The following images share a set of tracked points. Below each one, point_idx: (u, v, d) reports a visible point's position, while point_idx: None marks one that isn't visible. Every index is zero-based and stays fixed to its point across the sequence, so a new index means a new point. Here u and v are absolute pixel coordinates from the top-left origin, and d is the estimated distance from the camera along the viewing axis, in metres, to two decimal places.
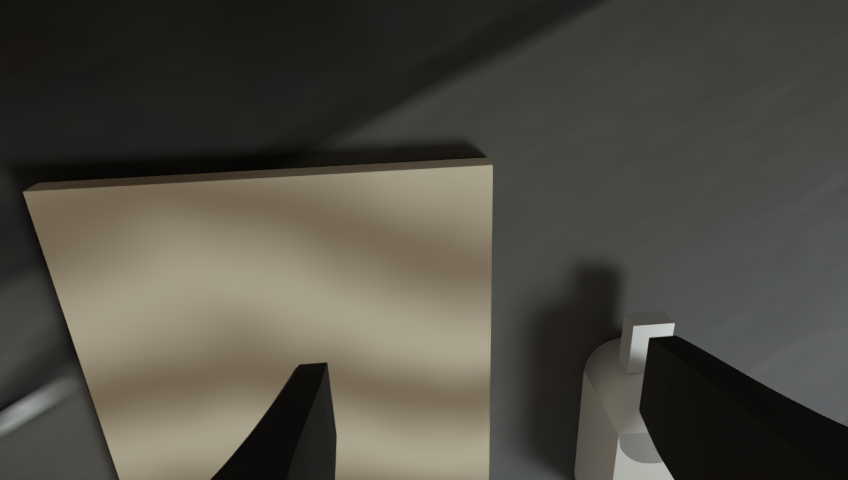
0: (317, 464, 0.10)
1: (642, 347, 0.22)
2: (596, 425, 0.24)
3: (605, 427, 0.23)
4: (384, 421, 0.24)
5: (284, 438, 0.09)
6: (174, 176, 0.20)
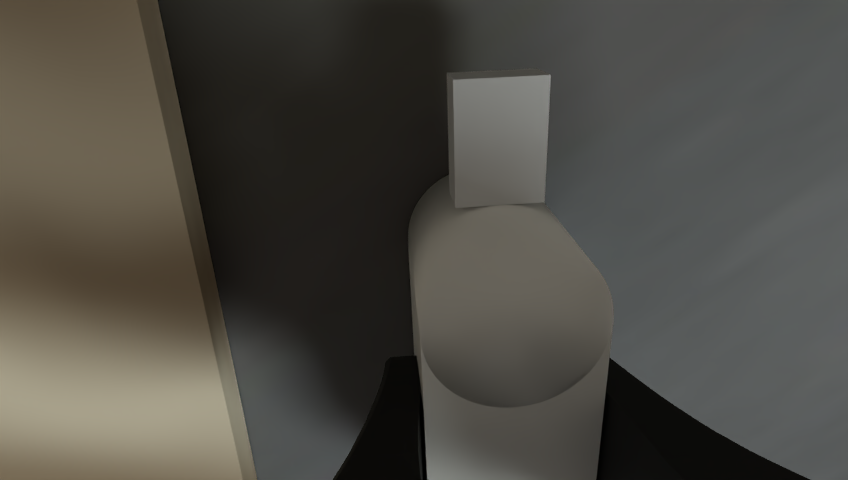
0: (422, 455, 0.11)
1: (481, 137, 0.10)
2: None
3: (417, 334, 0.11)
4: None
5: (403, 428, 0.09)
6: None
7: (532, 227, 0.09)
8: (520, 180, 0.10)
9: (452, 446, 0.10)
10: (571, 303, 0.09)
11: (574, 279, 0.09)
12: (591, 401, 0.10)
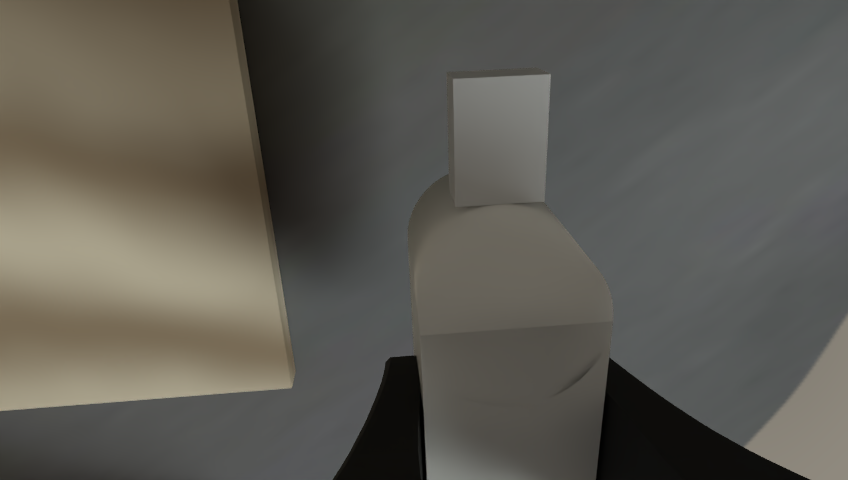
0: (421, 455, 0.11)
1: (481, 137, 0.10)
2: (415, 337, 0.12)
3: (417, 333, 0.11)
4: (116, 217, 0.18)
5: (403, 428, 0.09)
6: None
7: (531, 226, 0.09)
8: (520, 179, 0.10)
9: (451, 445, 0.10)
10: (571, 302, 0.09)
11: (574, 278, 0.09)
12: (591, 400, 0.10)
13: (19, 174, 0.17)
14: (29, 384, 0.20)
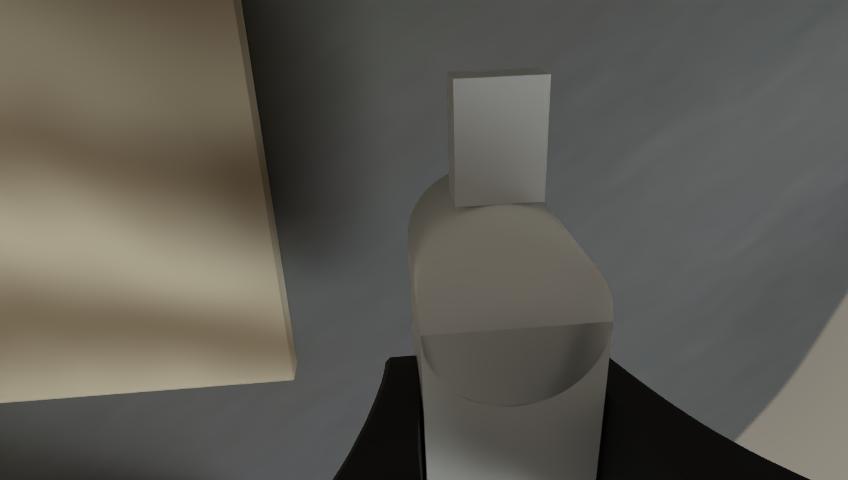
0: (421, 455, 0.11)
1: (482, 137, 0.10)
2: (415, 337, 0.12)
3: (417, 333, 0.11)
4: (123, 213, 0.18)
5: (403, 428, 0.09)
6: None
7: (532, 226, 0.09)
8: (520, 179, 0.10)
9: (451, 446, 0.10)
10: (571, 302, 0.09)
11: (574, 278, 0.09)
12: (591, 400, 0.10)
13: (29, 170, 0.17)
14: (37, 376, 0.20)
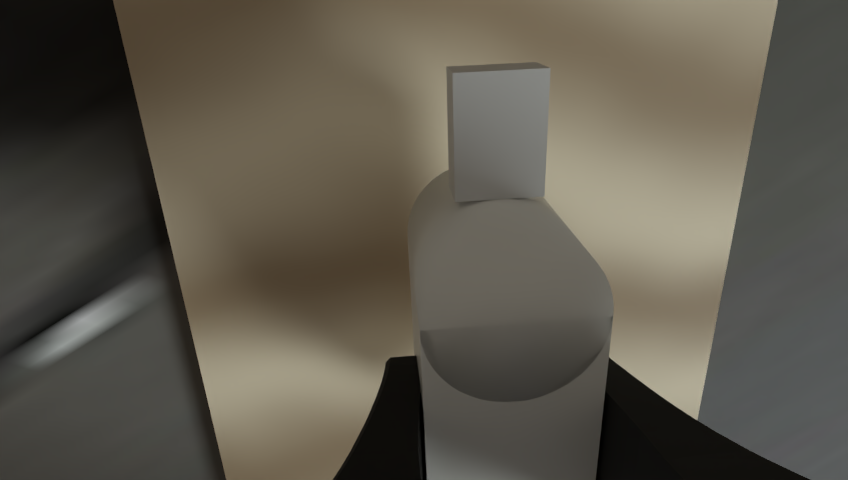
0: (421, 455, 0.11)
1: (481, 131, 0.10)
2: (415, 333, 0.12)
3: (416, 328, 0.11)
4: None
5: (403, 428, 0.09)
6: None
7: (532, 221, 0.09)
8: (520, 174, 0.10)
9: (451, 441, 0.10)
10: (571, 297, 0.09)
11: (574, 273, 0.09)
12: (591, 396, 0.10)
13: None
14: None
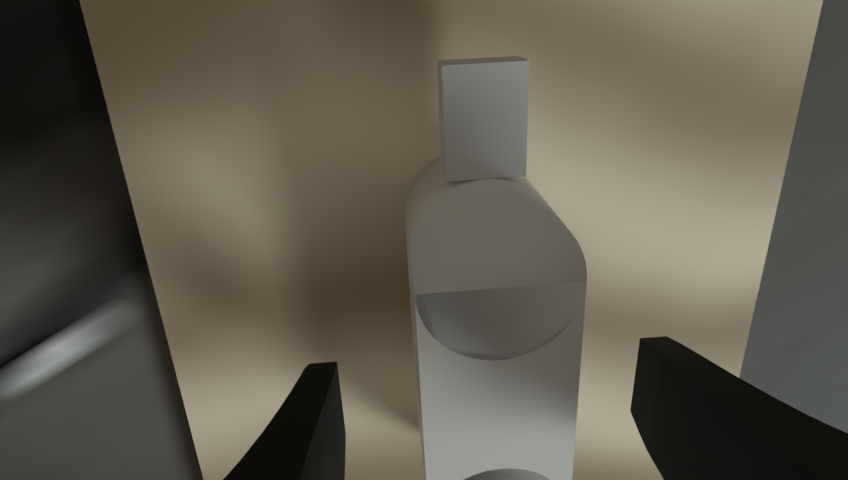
0: (328, 463, 0.10)
1: (468, 117, 0.11)
2: (411, 303, 0.13)
3: (412, 297, 0.12)
4: (591, 370, 0.16)
5: (296, 437, 0.09)
6: None
7: (513, 196, 0.10)
8: (503, 156, 0.11)
9: (444, 396, 0.11)
10: (548, 263, 0.10)
11: (551, 241, 0.10)
12: (569, 354, 0.11)
13: None
14: None
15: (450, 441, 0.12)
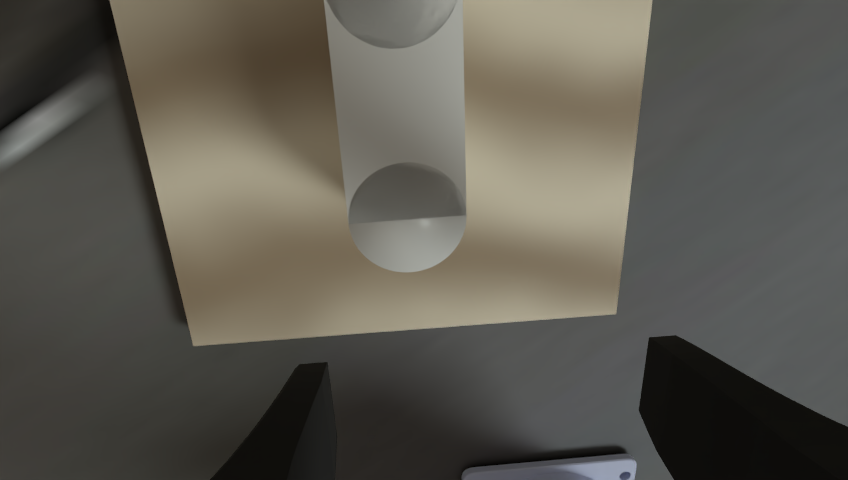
0: (317, 464, 0.10)
1: None
2: None
3: None
4: (503, 142, 0.19)
5: (284, 438, 0.09)
6: None
7: None
8: None
9: (352, 84, 0.14)
10: None
11: None
12: (453, 45, 0.14)
13: None
14: (381, 308, 0.21)
15: (360, 131, 0.14)
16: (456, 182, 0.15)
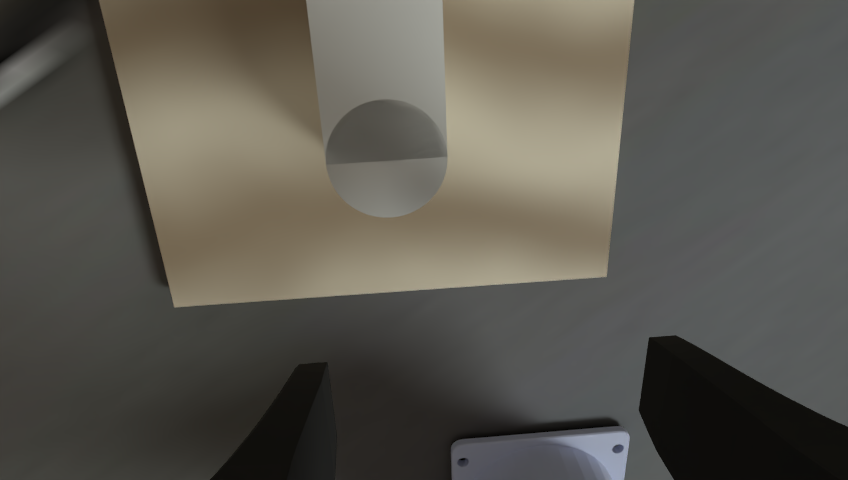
0: (317, 464, 0.10)
1: None
2: None
3: None
4: (489, 94, 0.18)
5: (284, 438, 0.09)
6: None
7: None
8: None
9: (328, 14, 0.13)
10: None
11: None
12: None
13: None
14: (366, 268, 0.21)
15: (337, 65, 0.14)
16: (436, 121, 0.15)
